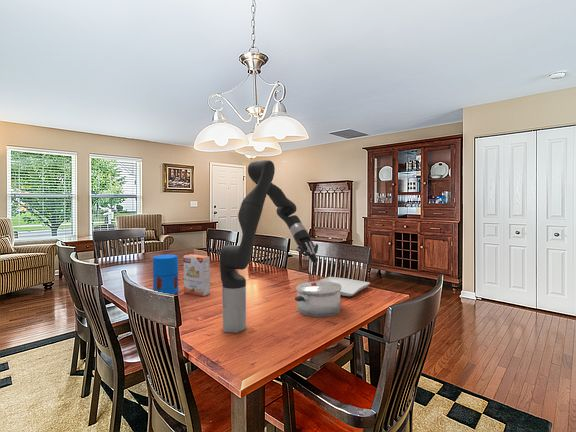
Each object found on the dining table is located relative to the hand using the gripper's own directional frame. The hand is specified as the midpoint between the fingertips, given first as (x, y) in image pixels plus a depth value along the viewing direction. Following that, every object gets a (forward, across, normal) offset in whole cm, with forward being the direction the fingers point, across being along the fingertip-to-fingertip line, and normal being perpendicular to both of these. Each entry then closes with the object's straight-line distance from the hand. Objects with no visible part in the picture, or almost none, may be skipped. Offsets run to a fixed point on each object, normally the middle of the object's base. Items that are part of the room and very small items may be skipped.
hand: (315, 262), depth 149 cm
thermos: (-11, -58, +43) cm, 73 cm away
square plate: (+5, +32, +27) cm, 42 cm away
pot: (+17, 0, +14) cm, 22 cm away
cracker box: (-23, -38, +54) cm, 70 cm away
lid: (+10, 0, +7) cm, 12 cm away
